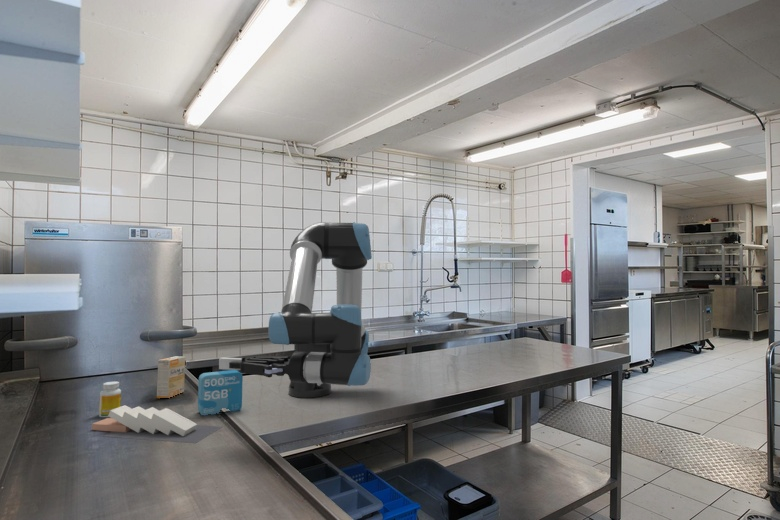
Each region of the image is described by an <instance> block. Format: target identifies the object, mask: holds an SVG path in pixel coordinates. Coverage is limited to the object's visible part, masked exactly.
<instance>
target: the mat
mask: <svg viewBox="0 0 780 520" xmlns="http://www.w3.org/2000/svg"><path fill="white" fill-rule="evenodd" d="M222 428H223V426H221V425H220V426H219V425H202V424H197V426H196V429H195V430H194V431H192V432H190V433H188V434H187V435H185V436H181V435H180V434H178V433H176V432H174V433H172V434H170V435H167V434H165V433H163V432H161V431H159V432H157V433H155V434H152V433H150V432H148V431H146V430H144V431H142V432H139V433H138V432H136V431H134V430H130V431H127V432H114V431H110V432H109V433H106V434H105V435H103V436H102V437H105V438H118V439H133V440H135V439H136V440H147V441H148V440H149V441H161V442H173V443H174V442H175V443H189V444H197V443H199V442H200V441H202V440H204V439H205V438H207V437H208V436H210V435H211V434H213V433H215V432H217V431H218V430H220V429H222Z"/></svg>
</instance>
